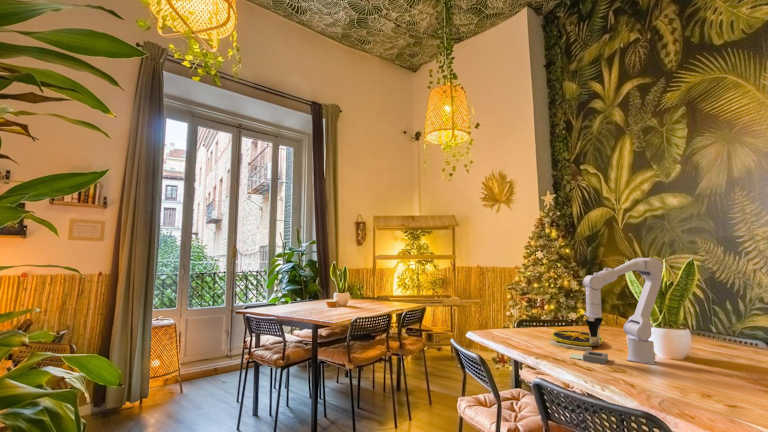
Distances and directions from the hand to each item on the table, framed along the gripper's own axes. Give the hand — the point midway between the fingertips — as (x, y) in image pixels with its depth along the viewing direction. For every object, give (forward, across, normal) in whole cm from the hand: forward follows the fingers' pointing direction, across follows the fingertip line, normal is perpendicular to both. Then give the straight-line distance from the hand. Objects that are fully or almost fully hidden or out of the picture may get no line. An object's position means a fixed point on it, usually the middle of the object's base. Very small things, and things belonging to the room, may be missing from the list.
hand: (594, 335), depth 165 cm
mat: (+10, 0, -7) cm, 12 cm away
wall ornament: (+10, -28, -12) cm, 32 cm away
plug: (+3, 0, 0) cm, 3 cm away
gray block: (+10, 0, 0) cm, 10 cm away
